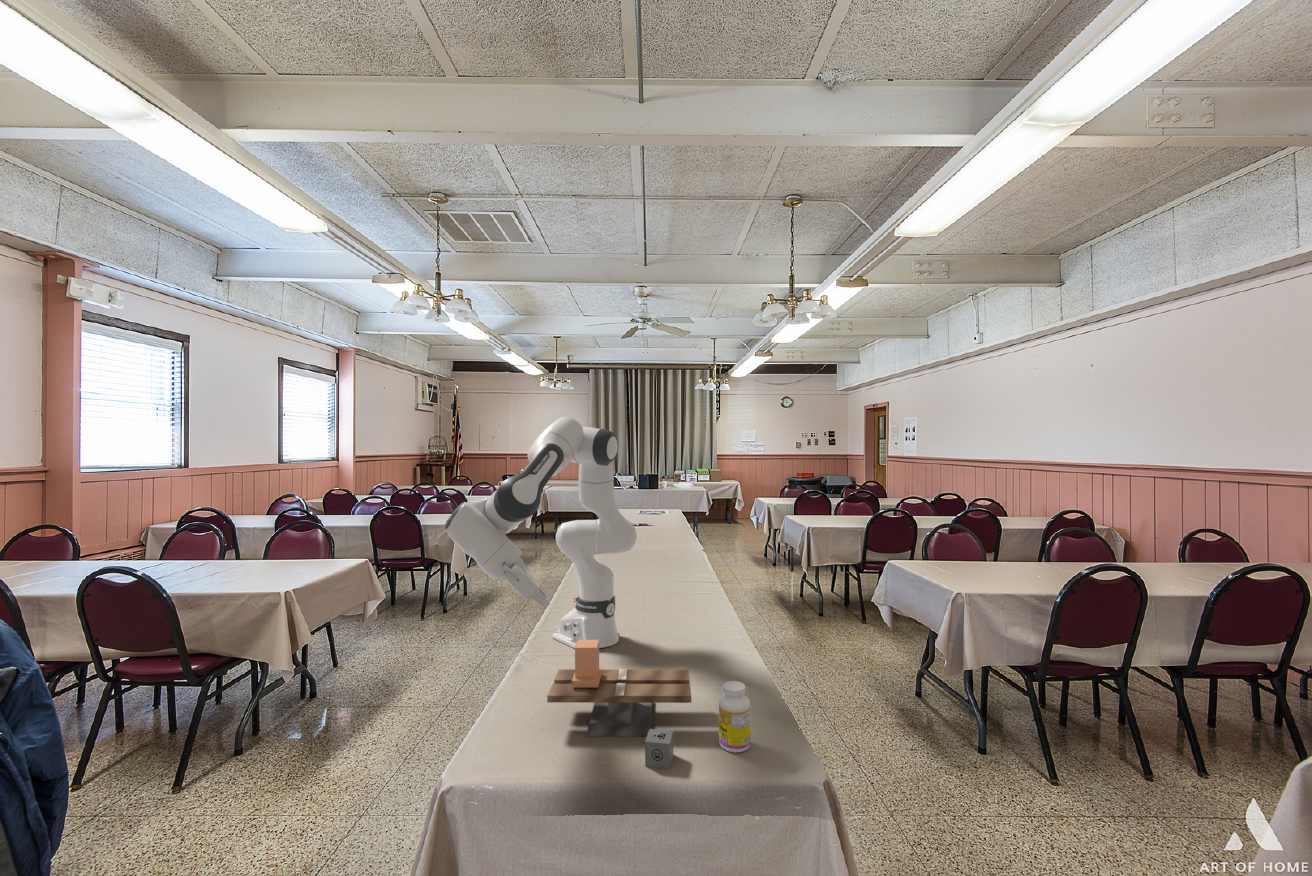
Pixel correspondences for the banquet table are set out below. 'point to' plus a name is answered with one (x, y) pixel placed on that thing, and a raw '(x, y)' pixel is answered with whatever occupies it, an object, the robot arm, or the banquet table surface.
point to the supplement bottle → (734, 718)
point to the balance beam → (623, 698)
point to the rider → (587, 664)
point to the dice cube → (659, 748)
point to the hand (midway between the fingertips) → (546, 601)
